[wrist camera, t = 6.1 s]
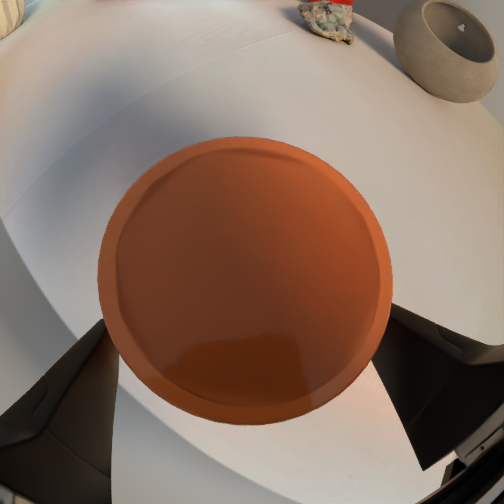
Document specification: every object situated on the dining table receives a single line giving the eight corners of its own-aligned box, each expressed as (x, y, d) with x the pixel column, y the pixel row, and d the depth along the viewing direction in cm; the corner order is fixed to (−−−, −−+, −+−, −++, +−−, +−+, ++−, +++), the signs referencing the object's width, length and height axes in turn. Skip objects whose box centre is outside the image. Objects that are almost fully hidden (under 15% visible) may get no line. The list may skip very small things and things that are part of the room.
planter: (371, 57, 32) (412, -26, 15) (383, 51, 35) (421, -21, 17) (459, 130, 30) (521, 59, 13) (463, 116, 32) (516, 53, 15)
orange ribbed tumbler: (219, 385, 16) (232, 482, 4) (160, 309, 17) (53, 232, 5) (292, 325, 18) (433, 282, 6) (234, 255, 19) (269, 104, 7)
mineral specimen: (314, 58, 37) (332, 34, 38) (354, 53, 31) (368, 28, 32) (282, 17, 30) (305, -3, 31) (323, 4, 25) (342, -14, 25)
